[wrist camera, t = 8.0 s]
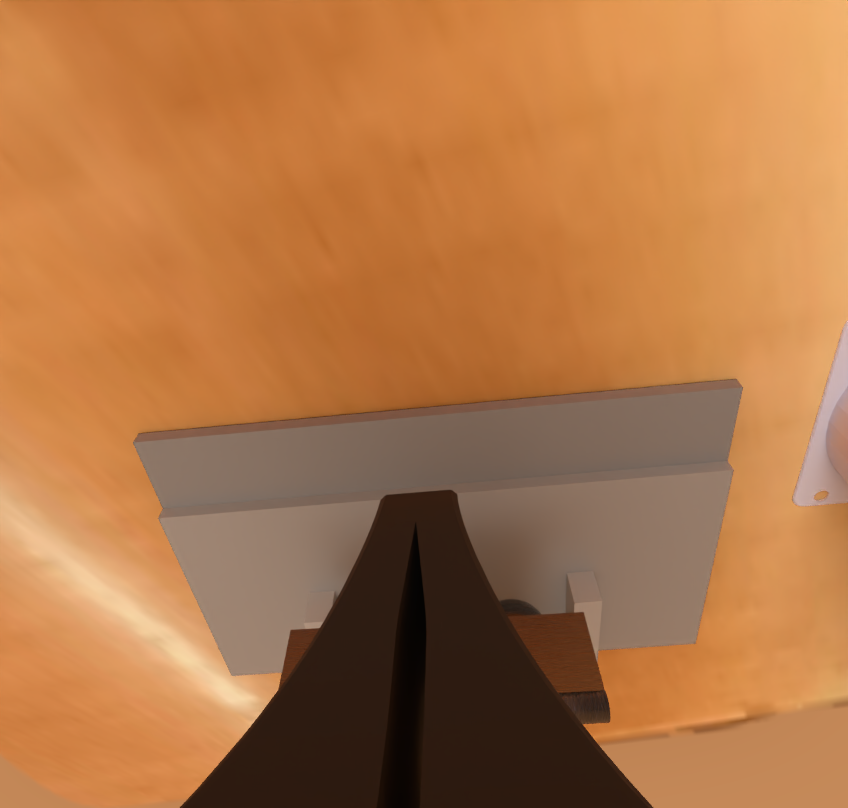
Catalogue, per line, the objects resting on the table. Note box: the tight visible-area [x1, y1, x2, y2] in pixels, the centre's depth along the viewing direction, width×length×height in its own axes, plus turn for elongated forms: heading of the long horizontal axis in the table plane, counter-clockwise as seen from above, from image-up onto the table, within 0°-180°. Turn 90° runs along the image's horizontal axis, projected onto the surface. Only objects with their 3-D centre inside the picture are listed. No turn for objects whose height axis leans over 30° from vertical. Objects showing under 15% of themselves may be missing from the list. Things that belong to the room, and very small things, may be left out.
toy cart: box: [279, 599, 610, 724], centre depth 21 cm, size 9×9×5 cm
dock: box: [133, 379, 743, 676], centre depth 23 cm, size 20×12×3 cm, turn 96°
